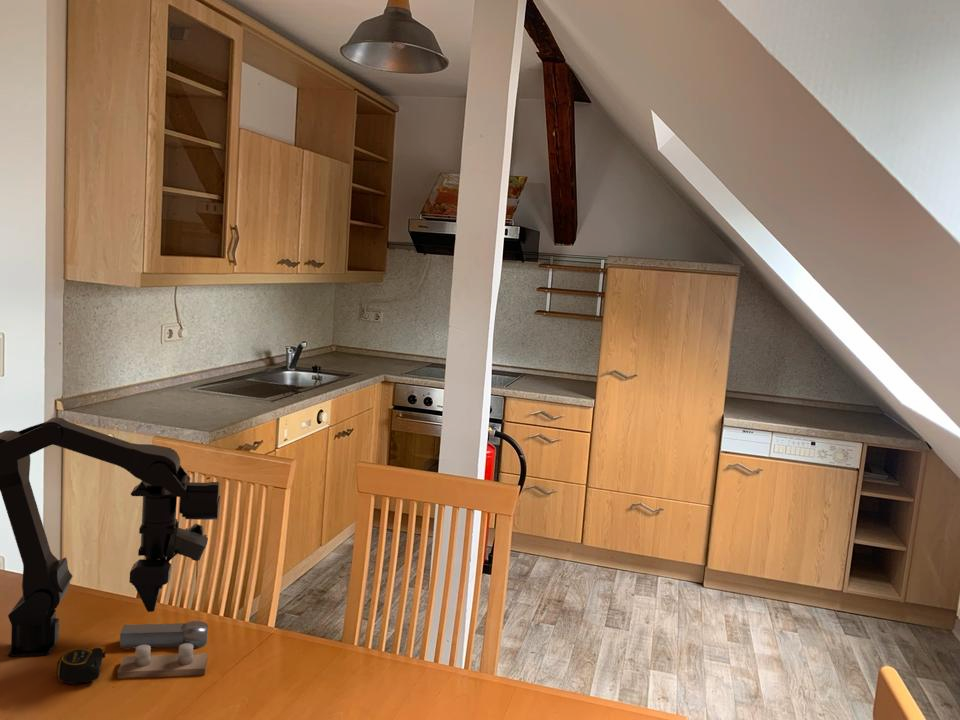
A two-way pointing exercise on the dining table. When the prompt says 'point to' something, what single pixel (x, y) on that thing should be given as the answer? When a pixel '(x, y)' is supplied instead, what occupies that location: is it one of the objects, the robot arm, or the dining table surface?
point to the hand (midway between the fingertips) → (154, 599)
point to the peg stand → (163, 663)
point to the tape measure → (80, 665)
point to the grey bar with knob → (164, 635)
